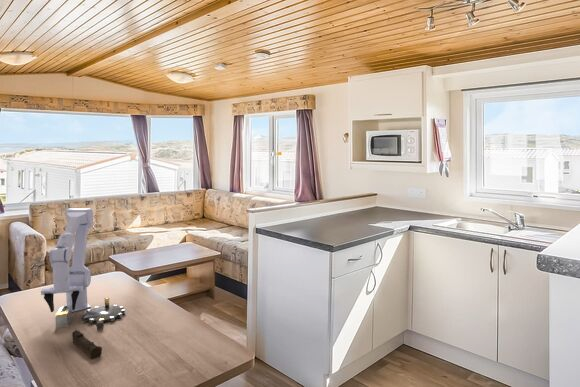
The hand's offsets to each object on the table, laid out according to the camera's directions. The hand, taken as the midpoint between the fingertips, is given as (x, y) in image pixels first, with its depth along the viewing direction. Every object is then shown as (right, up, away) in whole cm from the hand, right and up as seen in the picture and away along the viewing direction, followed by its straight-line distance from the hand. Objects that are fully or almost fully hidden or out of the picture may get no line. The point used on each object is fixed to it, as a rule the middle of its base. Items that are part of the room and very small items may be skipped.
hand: (63, 310), depth 164 cm
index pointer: (+17, -6, -3) cm, 18 cm away
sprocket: (+13, -5, +8) cm, 16 cm away
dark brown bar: (+18, -8, -20) cm, 29 cm away
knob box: (0, -5, +1) cm, 6 cm away
